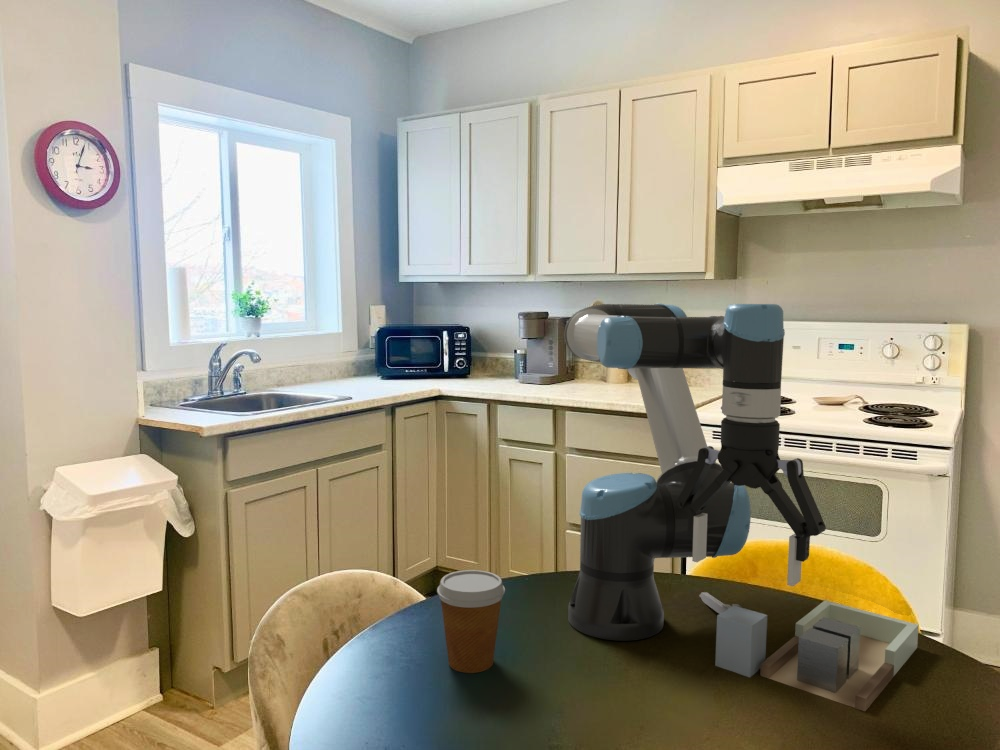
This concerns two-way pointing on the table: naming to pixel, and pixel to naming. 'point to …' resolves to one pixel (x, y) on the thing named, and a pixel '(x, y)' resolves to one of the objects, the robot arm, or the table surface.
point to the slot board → (857, 687)
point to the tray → (869, 629)
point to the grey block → (741, 640)
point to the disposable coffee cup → (470, 618)
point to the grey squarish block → (822, 660)
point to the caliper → (715, 603)
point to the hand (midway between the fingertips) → (744, 571)
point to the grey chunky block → (847, 632)
